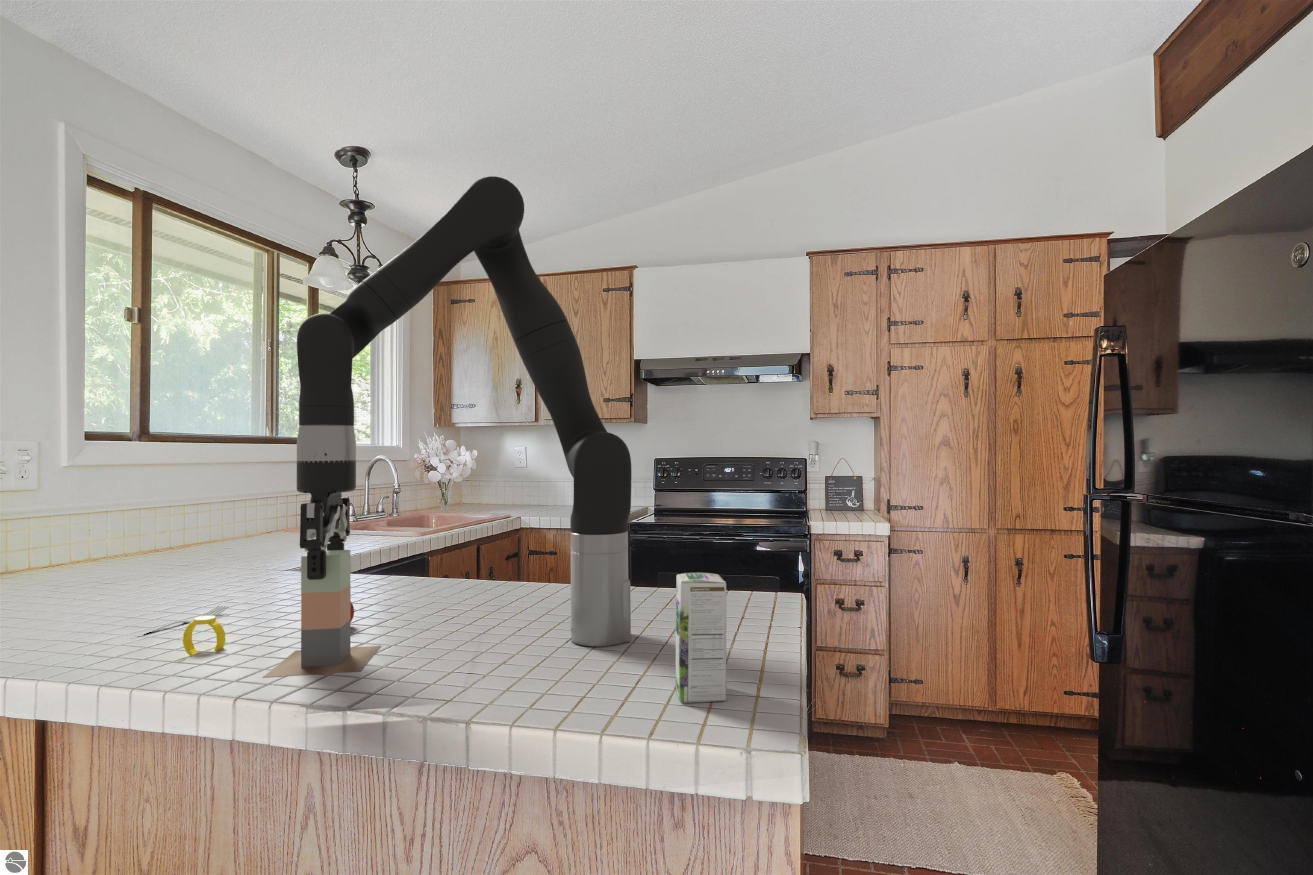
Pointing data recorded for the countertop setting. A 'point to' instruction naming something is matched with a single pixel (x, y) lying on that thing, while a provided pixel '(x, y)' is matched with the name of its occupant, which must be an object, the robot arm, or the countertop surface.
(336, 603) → the terracotta brick
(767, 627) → the countertop surface
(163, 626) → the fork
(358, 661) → the walnut board
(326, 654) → the charcoal brick
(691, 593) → the syrup box
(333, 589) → the sage brick
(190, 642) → the watch
